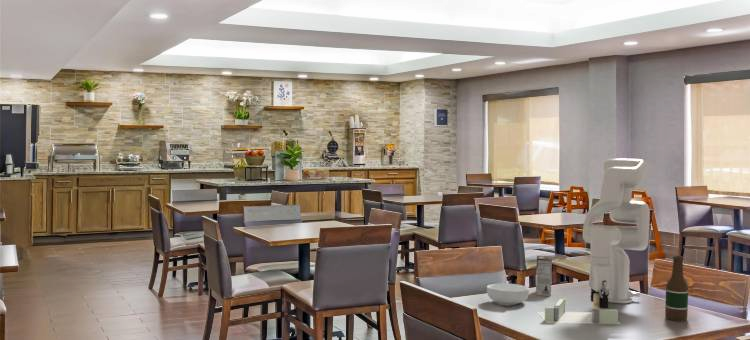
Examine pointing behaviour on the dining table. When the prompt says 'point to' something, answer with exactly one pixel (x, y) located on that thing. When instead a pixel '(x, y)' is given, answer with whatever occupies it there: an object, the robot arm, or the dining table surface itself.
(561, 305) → the gate
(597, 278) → the robot arm
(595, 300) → the roller
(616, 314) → the gate frame
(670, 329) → the dining table surface
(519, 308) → the dining table surface
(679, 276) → the beer bottle
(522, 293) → the cereal bowl
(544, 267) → the coffee box
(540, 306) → the dining table surface
